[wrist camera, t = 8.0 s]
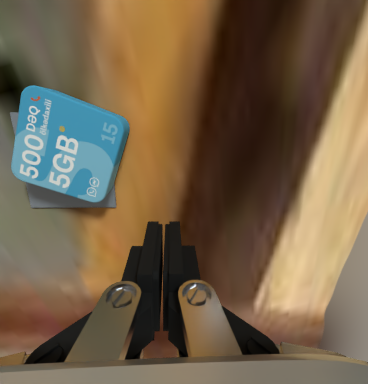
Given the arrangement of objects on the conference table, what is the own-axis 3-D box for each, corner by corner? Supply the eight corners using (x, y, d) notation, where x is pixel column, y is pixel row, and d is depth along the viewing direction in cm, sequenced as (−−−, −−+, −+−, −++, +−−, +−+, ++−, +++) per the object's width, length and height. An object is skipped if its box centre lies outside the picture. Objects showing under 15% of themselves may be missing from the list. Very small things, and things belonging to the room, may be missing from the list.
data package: (102, 206, 30) (8, 177, 27) (110, 195, 34) (30, 169, 32) (126, 120, 26) (22, 80, 24) (132, 120, 30) (44, 85, 28)
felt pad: (108, 115, 30) (108, 115, 30) (116, 206, 35) (115, 207, 35) (11, 112, 29) (9, 112, 29) (32, 206, 34) (31, 207, 34)
